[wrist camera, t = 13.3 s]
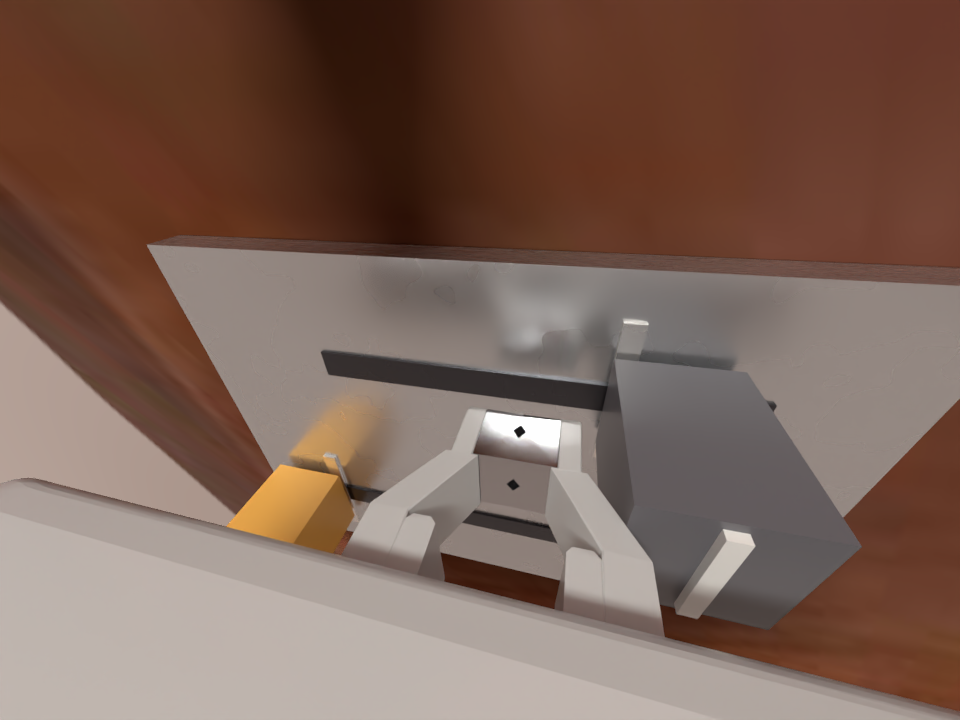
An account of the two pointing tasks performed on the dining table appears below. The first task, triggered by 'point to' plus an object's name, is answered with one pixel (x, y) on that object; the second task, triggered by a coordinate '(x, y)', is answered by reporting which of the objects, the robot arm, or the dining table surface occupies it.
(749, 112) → the dining table surface
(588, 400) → the console board
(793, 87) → the dining table surface
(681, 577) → the grey striped slider knob
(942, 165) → the dining table surface
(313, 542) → the orange slider knob
